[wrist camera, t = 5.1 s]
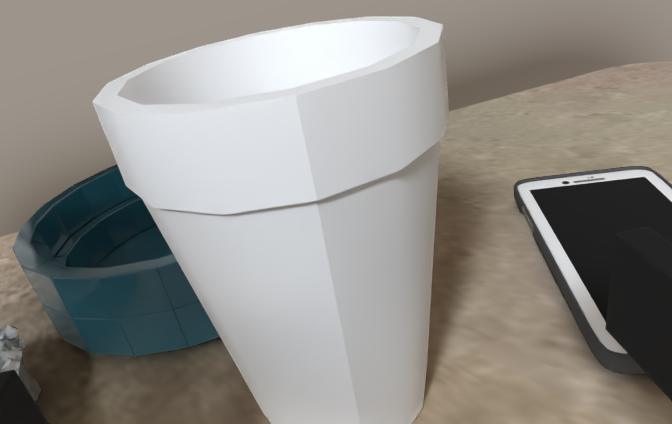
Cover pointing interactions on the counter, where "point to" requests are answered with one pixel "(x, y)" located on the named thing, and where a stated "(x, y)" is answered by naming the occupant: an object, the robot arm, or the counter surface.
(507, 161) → the counter surface
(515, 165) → the counter surface
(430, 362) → the counter surface
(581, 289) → the cell phone
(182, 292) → the bowl
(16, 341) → the egg carton
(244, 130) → the foam cup
